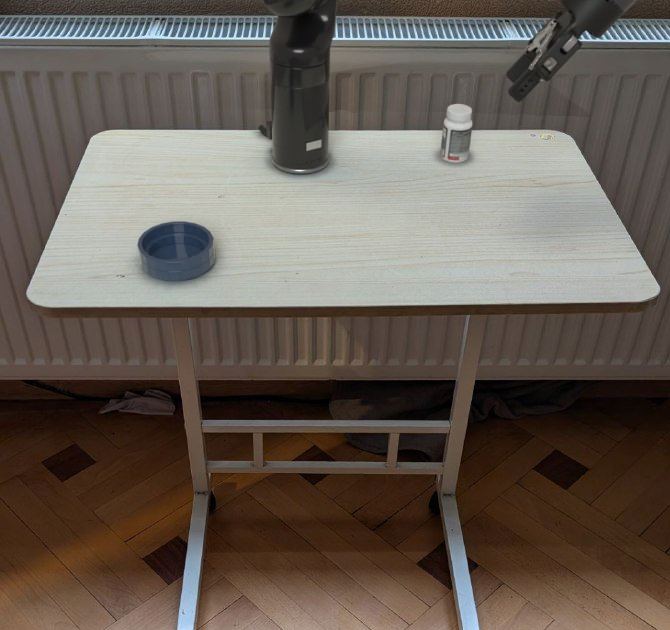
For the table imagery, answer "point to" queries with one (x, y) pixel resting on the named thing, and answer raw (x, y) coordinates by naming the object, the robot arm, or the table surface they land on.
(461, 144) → the pill bottle
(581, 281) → the table surface
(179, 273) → the dish
